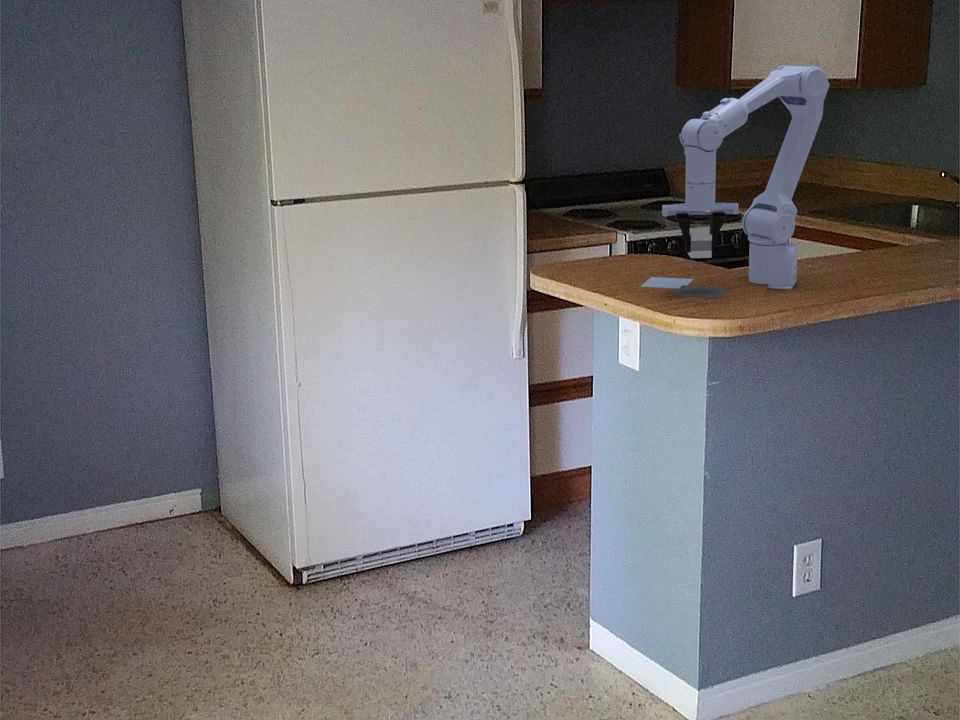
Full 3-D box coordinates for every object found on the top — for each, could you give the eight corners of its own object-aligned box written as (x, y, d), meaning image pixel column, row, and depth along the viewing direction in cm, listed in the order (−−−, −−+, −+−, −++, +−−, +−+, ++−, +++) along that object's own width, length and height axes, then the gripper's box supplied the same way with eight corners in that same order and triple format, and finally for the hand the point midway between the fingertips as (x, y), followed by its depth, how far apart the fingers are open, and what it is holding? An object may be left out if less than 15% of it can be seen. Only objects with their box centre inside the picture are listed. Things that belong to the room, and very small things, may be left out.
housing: (711, 257, 235) (712, 234, 233) (690, 258, 235) (691, 235, 234) (707, 251, 240) (707, 229, 239) (687, 252, 241) (687, 230, 239)
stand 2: (726, 291, 242) (726, 287, 242) (717, 301, 234) (717, 297, 234) (682, 289, 245) (682, 285, 245) (671, 299, 237) (671, 295, 237)
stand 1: (693, 282, 250) (693, 279, 250) (683, 292, 242) (683, 288, 242) (651, 280, 254) (651, 276, 253) (640, 290, 246) (640, 286, 245)
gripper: (735, 178, 237) (733, 246, 241) (660, 180, 238) (660, 248, 242) (740, 183, 230) (739, 253, 234) (664, 185, 231) (663, 255, 235)
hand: (699, 251), depth 237 cm, fingers closed on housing, 4 cm apart
